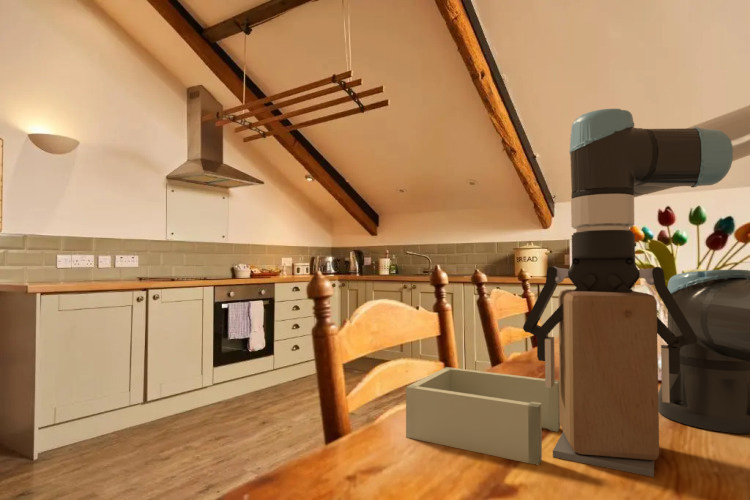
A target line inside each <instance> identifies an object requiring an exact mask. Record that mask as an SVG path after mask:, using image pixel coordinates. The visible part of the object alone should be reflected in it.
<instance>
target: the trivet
mask: <svg viewBox="0 0 750 500" xmlns="http://www.w3.org/2000/svg"><path fill="white" fill-rule="evenodd" d="M552 457H553V458H557V459H562V460H566V461H567V460H568V461H572V462H577V463H581V464H588V465H590V466H591V465H592V466H596V467H602V468H606V469H613V470H617V471H622V472H627V473H632V474H637V475H640V476H641V475H642V476H647V477H651V478H655V459H654V460H643V459H632V458H620V457H608V456H596V455H584V454H578V453H576V452H574V451H573V450H572V448H571V446H570V444H569V442H568V440H567V438H566V436H565V434H564V432H563V431H562V433H561V434H560V436H559V439H558V440H557V442H556V443H555V445H554V447H553V450H552Z"/></svg>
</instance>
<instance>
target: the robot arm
mask: <svg viewBox="0 0 750 500" xmlns="http://www.w3.org/2000/svg"><path fill="white" fill-rule="evenodd" d="M633 117H634V116H633V114H632V113H631V112H630V111H629V110H627V109H621V108H604V109H603V108H602V109H597V110H592V111H589V112H588V111H587V112H586V113H583V114H581V115H580V116H579V117H577V118H576V119H575V120H574V121H573V122H572V125H571V130H570V131H571V132H570V138H569V139H570V140H569V141H570V143H569V155H570V158H569V159H570V178H571V180H570V181H571V193H570V194H571V199H570V208H571V209H570V212H571V213H570V216H571V220H570V222H571V224H570V225H571V228H573V229H575V231H576V232H573V234H571V266H570V267H569V268H561V267H558V266H548V268H547V269H546V276H545V277H546V278H545V283H544V285H543V287H542V289H541V291H540V293H539V295H538V297H537V299H536V301H535V303H534V304H533V306H532V309H531V310H530V313H529V314H528V316H527V318H526V320H525V322H524V324H523V326H522V330H523V331H524V332H525V333H530V334H532V335H534V337H536V350H537V351H536V353H537V354H536V357H537V360H538V361H540V362H544V371H545V374H544V376H545V377H544V379H545V387H549V388H551V387H552V386H553V385H554V384H555V380H556V377H555V376H556V375H555V374H556V372H555V366H556V365H555V362H556V361H555V336H549V334H550V332H552V331H553V329H554V328H556V326H557V325H559V322H560V321H561V319H562V317H563V303H562V304H561V305H560V306H559V305H558V308H557V309H555V311H554V312H553V313H552V314H551V315H550V316H549V317H548V318H547V319H546V320H545V322H544V323H543V324H542V325H538V324H539V321H540V319H541V318H542V315H543V314H544V312H545V310H546V309H547V307H548V304H549V302H550V300H551V299H552V297H553V294H554V293H555V291H556V289H557V287H558V284H561V283H563V282H564V279H566V277H568V278H569V279H568V280H570V282H571V283H572V284H573V285H574V287H575V290H574V291H597V292H624V293H632V292H633V291H634V290H633V289H632V288H633V287H634V285H635V284H636V283H637V282H638V280H639V279H640V278H642V279H644V280H645V281H646V283H647V284H648V285H650V286H654V288H655V291H656V292H657V294H658V295H659V298H660V299H661V301H662V303H663V304H664V306H665V307H666V309H667V310H666V311H667V325H666V324H665V323H664V322H663V321H662V320H661V319H660V318H659V317H658V316H657V336H659V337H660V338H661V339H662V340H663V341H664V342H665V343H666V344H667V345H666V344H660V358H661V359H660V360H661V361H660V363H661V367H660V368H661V384H660V387H659V388H658V408H659V415H661V416H664V417H665V418H667V419H669V420H672V421H673V422H674V421H675V422H678V423H680V424H684V425H687V426H691V427H694V428H700V429H705V430H709V431H717V432H722V433H733V434H743V435H745V434H748V435H750V270H749V269H711V270H709V269H708V270H702V271H701V270H699V271H687V272H682V273H677V274H674V275H672V276H671V277H670V278H669V280H668V283H667V285H666V278H665V273H664V269H663V267H660V266H656V267H652V268H643V269H639V268H638V267H637V265H636V264H637V263H636V242H635V239H636V236H635V235H636V234H635V233H634V231H632V230H631V229H630V228H632V227H634V226H635V198H637V197H640V196H644V195H649V194H654V193H657V192H661V191H665V190H669V189H673V188H677V187H691V188H697V187H706V186H713V185H716V184H718V183H719V182H721V181H722V180H723V179H724V178H725V177H726V176H727V174H728V173H729V172H730V169H731V168H732V164H733V162H735V161H737V160H740V159H742V158H745V157H748V156H750V105H746V106H743V107H742V108H741V107H740V108H738V109H736V110H733V111H730V112H727V113H725V114H722V115H719V116H717V117H714V118H711V119H708V120H705V121H703V122H700V123H698V124H695V125H692V126H689V127H686V128H642V127H641V128H639V127H635V123H634V118H633Z"/></svg>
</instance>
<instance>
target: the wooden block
mask: <svg viewBox="0 0 750 500" xmlns="http://www.w3.org/2000/svg"><path fill="white" fill-rule="evenodd" d="M575 289H576V288H575ZM575 289H574V288H569V289H568V288H565V289H564V290H561V291H560V292H559V295H558V307H559V306H560V305H561V304H562V303H563V317H562V319H561V321H560V322H559V323H558V365H559V366H558V367H559V368H558V376H559V377H558V379H559V380H558V381H559V395H560V429H561V430H562V433H563V432H564V434H565V436H566V438H567V440H568V442H569V444H570V446H571V448H572V450H573V451H574V452H576V453H578V454H584V455H596V456H608V457H620V458H632V459H643V460H654V461H655V460H658V458H659V455H660V428H659V427H660V425H659V424H660V423H659V419H660V418H659V415H660V413H659V408H658V392H659V364H658V363H659V362H658V361H659V359H658V358H659V357H658V356H659V355H658V353H659V351H658V334H657V317H658V306H657V305H658V301H657V300H656V297H655V296H654V295H652V294H650V293H646V292H641V291H635V290H633V292H632V293H624V292H597V291H574V290H575Z"/></svg>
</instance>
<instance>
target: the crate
mask: <svg viewBox="0 0 750 500" xmlns="http://www.w3.org/2000/svg"><path fill="white" fill-rule="evenodd" d="M542 429H546V430H548V431H551V432H555V433H558V432H559V431H560V429H561V426H560V395H559V380H558V379H555V384H554V385H553V386H552V387H551V388H549V387H545V378H540V377H539V378H538V377H531V376H524V375H514V374H507V373H499V372H490V371H483V370H475V369H474V370H473V369H468V368H467V369H464V368H458V367H456V368H455V367H448V366H446V367H443V368H441V369H440V370H438V371H435V372H433V373H432V374H429V375H427V376H426V377H423V378H421V379H419V380H418V381H415V382H413V383H411V384H409V385H407V386H406V387H405V438H409V439H413V440H417V441H423V442H428V443H431V444H438V445H441V446H447V447H452V448H456V449H460V450H461V449H462V450H464V451H465V450H466V451H470V452H475V453H479V454H484V455H489V456H492V457H493V456H494V457H498V458H502V459H507V460H513V461H517V462H521V463H522V462H523V463H525V464H526V463H527V464H531V465H535V464H536V465H537V466H540V464H541V462H542V461H543V444H542V443H543V440H542V439H543V437H542V436H543V434H542V433H543V432H542Z"/></svg>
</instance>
